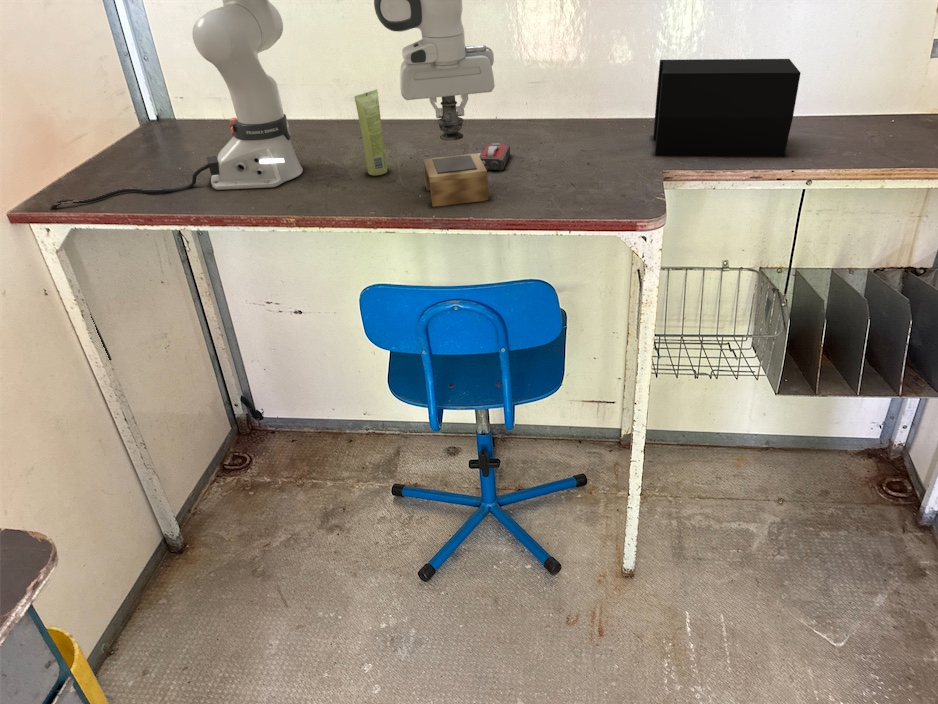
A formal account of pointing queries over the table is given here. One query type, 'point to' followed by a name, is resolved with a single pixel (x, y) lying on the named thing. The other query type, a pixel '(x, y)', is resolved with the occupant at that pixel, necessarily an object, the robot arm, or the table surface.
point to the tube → (371, 132)
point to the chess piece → (450, 120)
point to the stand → (456, 179)
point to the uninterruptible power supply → (725, 107)
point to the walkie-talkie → (495, 156)
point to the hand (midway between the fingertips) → (450, 116)
